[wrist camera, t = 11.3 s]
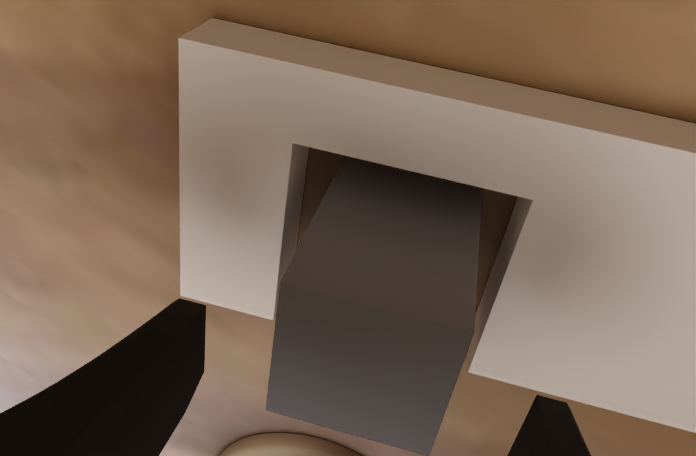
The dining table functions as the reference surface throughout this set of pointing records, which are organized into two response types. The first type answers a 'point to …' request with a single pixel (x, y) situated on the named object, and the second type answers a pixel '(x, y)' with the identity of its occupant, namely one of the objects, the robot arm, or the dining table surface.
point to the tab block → (378, 306)
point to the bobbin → (285, 446)
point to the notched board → (468, 168)
